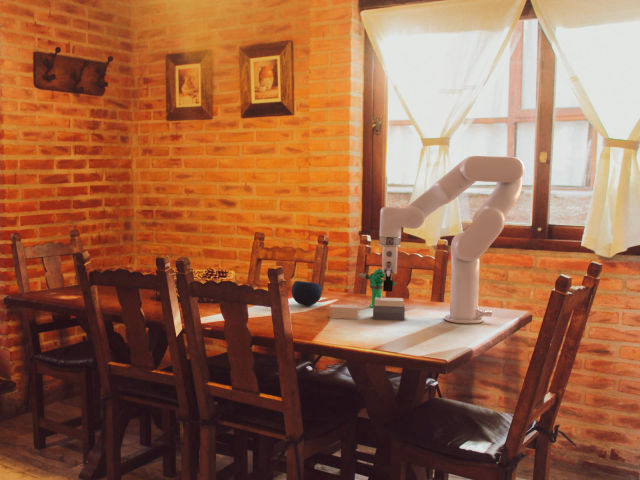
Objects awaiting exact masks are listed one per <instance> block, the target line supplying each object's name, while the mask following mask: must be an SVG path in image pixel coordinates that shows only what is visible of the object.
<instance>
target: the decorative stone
mask: <svg viewBox="0 0 640 480" xmlns="http://www.w3.org/2000/svg"><path fill="white" fill-rule="evenodd" d="M322 294H323V288H322V286H321V284H320V283H317V282H310V281H302V280H295V281H294V282H293V284H292V286H291V296H292V298H293V300H294V301H295V302H296V303H297V304H299V305H300V306H305V307H309V306H313V305H315V304H317V303H318V302H319V300H321V298H322Z"/></svg>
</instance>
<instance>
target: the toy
mask: <svg viewBox="0 0 640 480" xmlns="http://www.w3.org/2000/svg"><path fill="white" fill-rule="evenodd" d="M358 277H359V278H361V279H363V280H366V281H367V280H368V281H369V288H370V289H371V303H370V304H369V308H372V309H373V304H374V303H375V298H383V294H382V292H383V281H384V273H383V270H382V268H378V269H375V270H374V272H372V273H371V274H367V273H365V272H362V271H360V272H359V273H358ZM393 287H396V282H395V281H394V280H393Z"/></svg>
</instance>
